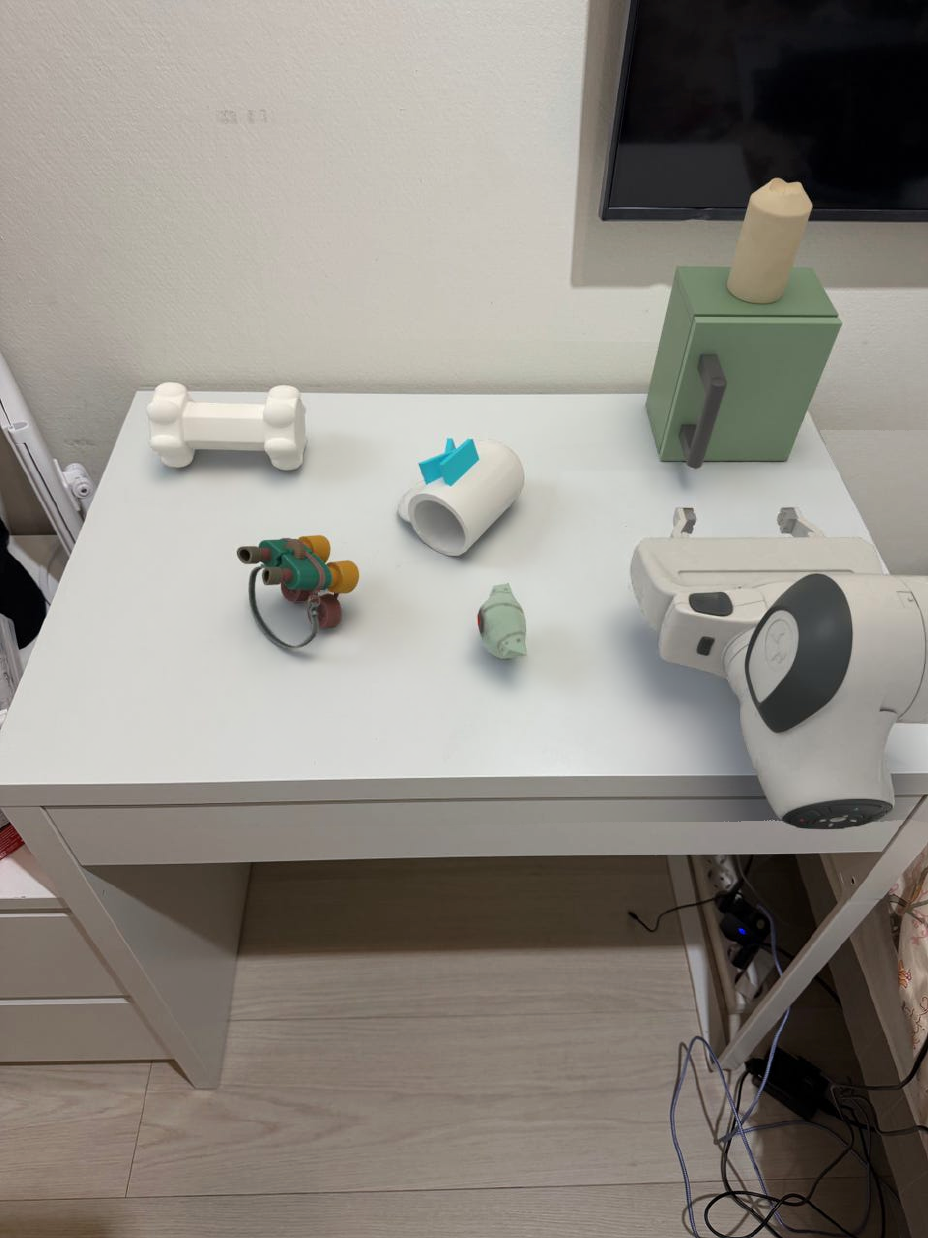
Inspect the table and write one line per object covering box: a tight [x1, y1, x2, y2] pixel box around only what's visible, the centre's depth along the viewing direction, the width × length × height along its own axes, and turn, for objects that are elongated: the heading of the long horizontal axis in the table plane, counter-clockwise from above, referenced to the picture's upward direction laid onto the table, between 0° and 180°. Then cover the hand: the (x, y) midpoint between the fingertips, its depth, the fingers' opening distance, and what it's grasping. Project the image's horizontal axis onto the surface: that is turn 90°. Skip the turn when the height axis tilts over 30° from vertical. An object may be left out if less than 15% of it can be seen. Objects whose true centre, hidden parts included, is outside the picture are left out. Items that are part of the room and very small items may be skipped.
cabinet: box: [644, 265, 840, 455], centre depth 90 cm, size 9×14×17 cm, turn 92°
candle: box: [727, 177, 813, 304], centre depth 79 cm, size 6×6×10 cm
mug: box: [397, 437, 525, 557], centre depth 84 cm, size 12×9×12 cm
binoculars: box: [236, 534, 360, 650], centre depth 73 cm, size 9×9×10 cm
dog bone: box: [145, 381, 308, 471], centre depth 88 cm, size 15×9×8 cm, turn 89°
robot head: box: [476, 582, 528, 660], centre depth 73 cm, size 8×4×7 cm, turn 9°
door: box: [658, 317, 843, 470], centre depth 85 cm, size 6×14×17 cm, turn 92°
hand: (734, 512), depth 75 cm, fingers open, 8 cm apart
